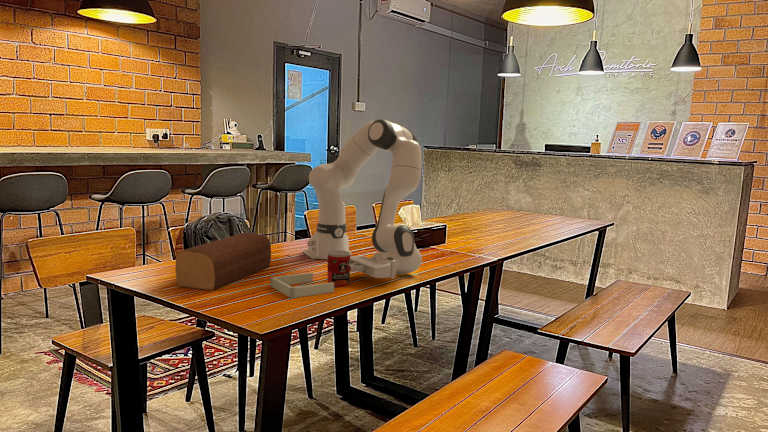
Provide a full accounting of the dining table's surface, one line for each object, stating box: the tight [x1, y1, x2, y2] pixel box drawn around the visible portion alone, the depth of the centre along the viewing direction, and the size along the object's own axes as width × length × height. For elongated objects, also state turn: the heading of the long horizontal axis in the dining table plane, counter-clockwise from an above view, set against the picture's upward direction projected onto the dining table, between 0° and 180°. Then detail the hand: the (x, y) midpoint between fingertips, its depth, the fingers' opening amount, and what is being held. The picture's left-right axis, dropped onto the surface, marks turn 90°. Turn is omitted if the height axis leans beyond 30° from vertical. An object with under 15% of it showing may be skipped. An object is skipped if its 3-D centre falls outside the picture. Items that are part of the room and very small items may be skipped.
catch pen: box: [269, 272, 335, 299], centre depth 194 cm, size 16×15×3 cm
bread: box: [175, 232, 272, 292], centre depth 208 cm, size 16×39×13 cm, turn 163°
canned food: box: [326, 251, 351, 288], centre depth 201 cm, size 8×8×11 cm
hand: (348, 268), depth 203 cm, fingers closed, pressing on canned food
